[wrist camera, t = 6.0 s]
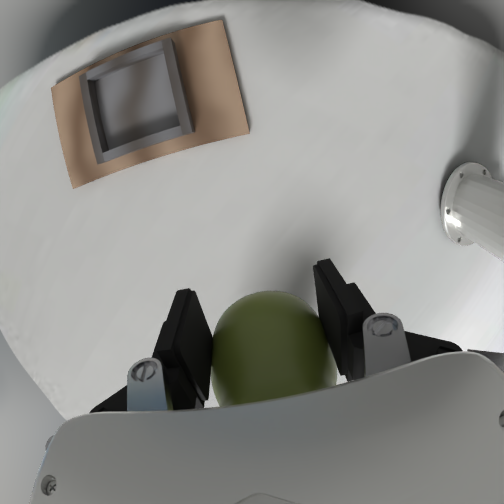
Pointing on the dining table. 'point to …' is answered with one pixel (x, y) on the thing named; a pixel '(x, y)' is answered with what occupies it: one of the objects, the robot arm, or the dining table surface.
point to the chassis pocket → (149, 102)
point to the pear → (269, 350)
